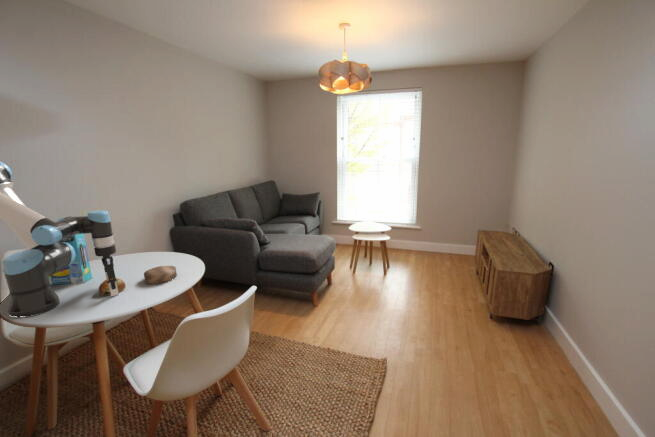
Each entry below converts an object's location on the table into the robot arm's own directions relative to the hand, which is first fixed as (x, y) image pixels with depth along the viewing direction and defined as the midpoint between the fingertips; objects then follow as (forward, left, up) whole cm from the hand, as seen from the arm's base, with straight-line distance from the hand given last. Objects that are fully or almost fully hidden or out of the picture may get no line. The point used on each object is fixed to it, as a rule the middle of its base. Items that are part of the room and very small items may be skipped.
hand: (113, 290), depth 139 cm
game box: (-16, +28, 0) cm, 32 cm away
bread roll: (0, 0, -1) cm, 1 cm away
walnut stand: (+20, 0, 0) cm, 20 cm away
